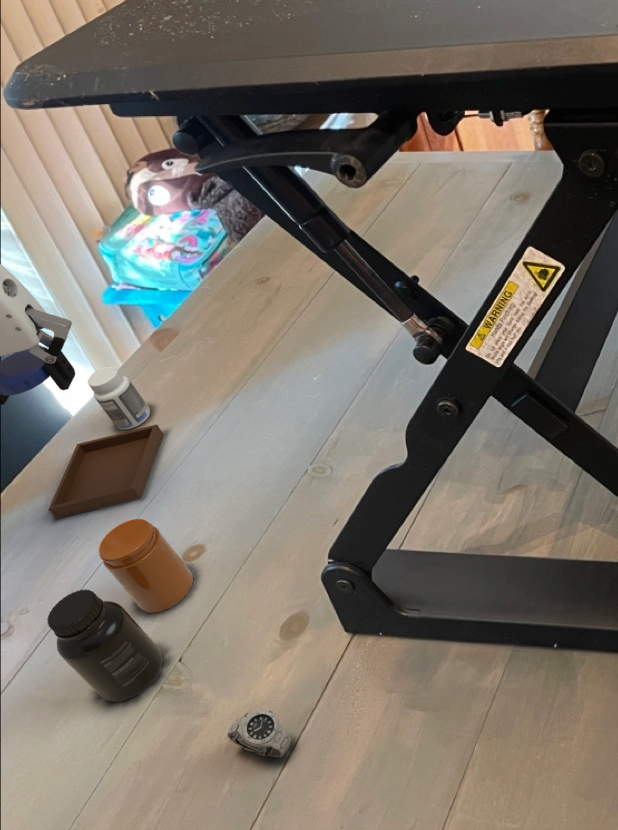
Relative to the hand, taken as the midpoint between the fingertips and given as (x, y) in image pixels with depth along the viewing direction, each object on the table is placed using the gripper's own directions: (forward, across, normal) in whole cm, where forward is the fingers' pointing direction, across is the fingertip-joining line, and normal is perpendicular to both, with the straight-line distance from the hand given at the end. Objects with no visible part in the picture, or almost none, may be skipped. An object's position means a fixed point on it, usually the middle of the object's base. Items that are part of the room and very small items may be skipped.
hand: (37, 388), depth 125 cm
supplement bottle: (+20, -10, +29) cm, 36 cm away
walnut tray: (+19, +3, -5) cm, 20 cm away
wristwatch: (+19, -27, +42) cm, 53 cm away
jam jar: (+19, -11, +18) cm, 29 cm away
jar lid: (-3, 0, 0) cm, 3 cm away
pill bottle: (+20, +3, -16) cm, 25 cm away
